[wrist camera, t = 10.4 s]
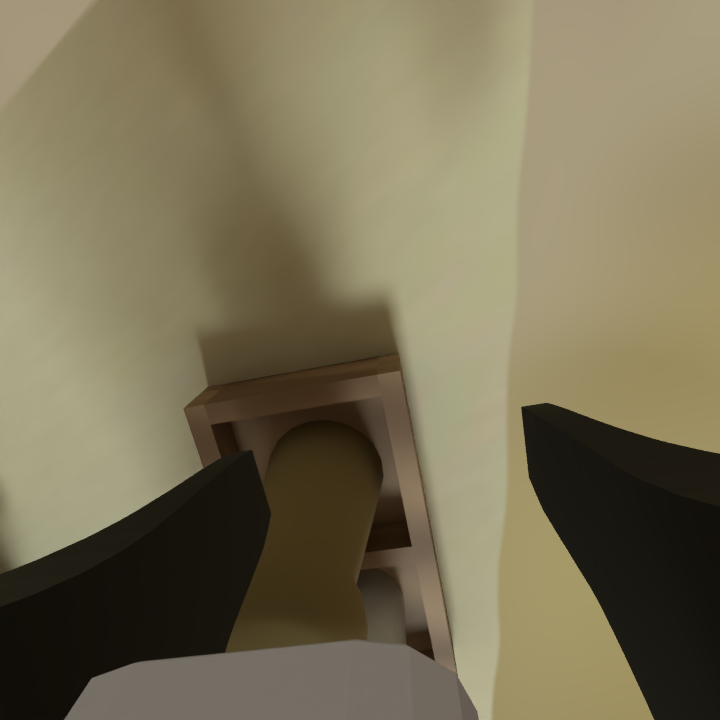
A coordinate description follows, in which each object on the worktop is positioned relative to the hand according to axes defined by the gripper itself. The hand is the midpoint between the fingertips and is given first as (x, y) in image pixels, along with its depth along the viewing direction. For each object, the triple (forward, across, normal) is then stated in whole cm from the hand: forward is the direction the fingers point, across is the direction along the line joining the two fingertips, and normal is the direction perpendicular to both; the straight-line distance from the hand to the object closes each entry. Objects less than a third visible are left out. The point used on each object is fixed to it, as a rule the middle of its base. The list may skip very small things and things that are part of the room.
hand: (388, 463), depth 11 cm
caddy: (+10, +4, +10) cm, 15 cm away
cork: (+10, +4, +6) cm, 12 cm away
